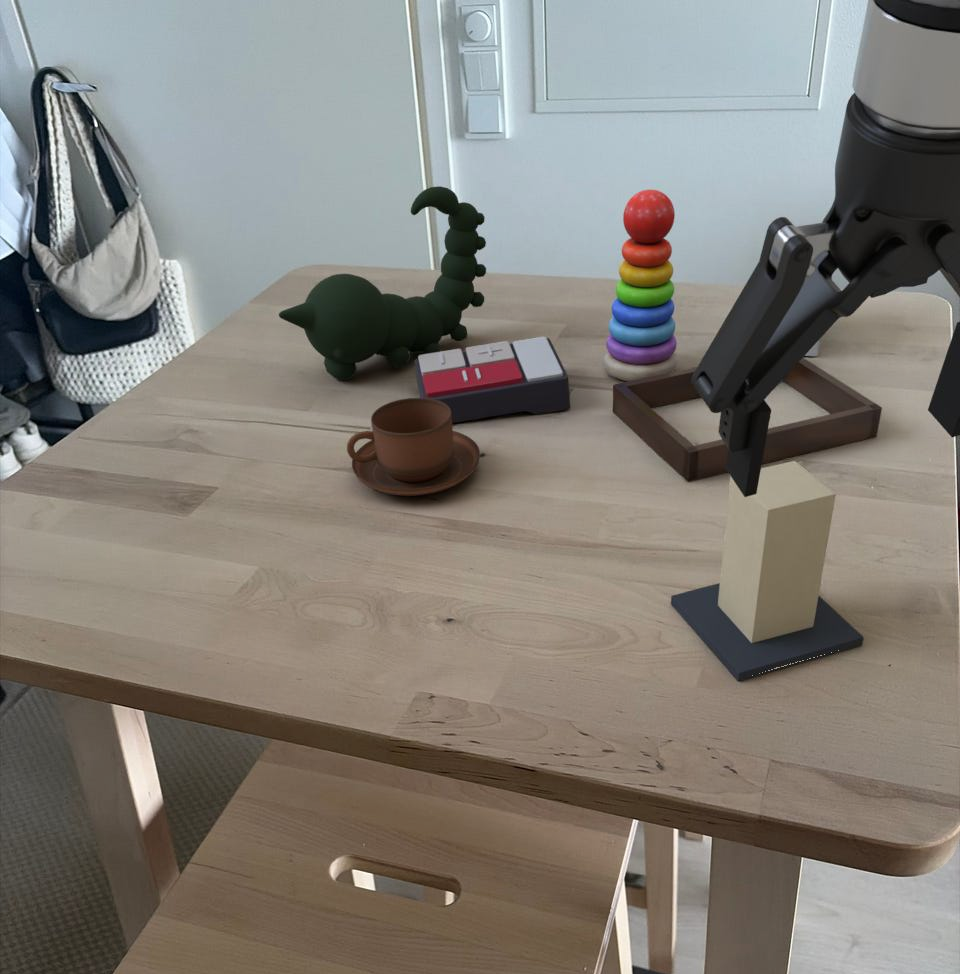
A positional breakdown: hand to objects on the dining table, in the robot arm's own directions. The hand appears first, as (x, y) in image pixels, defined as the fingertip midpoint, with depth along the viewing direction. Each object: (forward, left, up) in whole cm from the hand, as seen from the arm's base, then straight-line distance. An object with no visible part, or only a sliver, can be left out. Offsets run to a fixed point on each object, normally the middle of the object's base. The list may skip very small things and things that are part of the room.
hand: (843, 451), depth 63 cm
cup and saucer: (+18, -38, -16) cm, 45 cm away
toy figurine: (+13, -65, -16) cm, 68 cm away
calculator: (+6, -51, -16) cm, 54 cm away
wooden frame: (-14, -34, -16) cm, 40 cm away
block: (+1, -5, -15) cm, 16 cm away
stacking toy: (-11, -50, -16) cm, 53 cm away
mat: (+1, -5, -16) cm, 17 cm away
